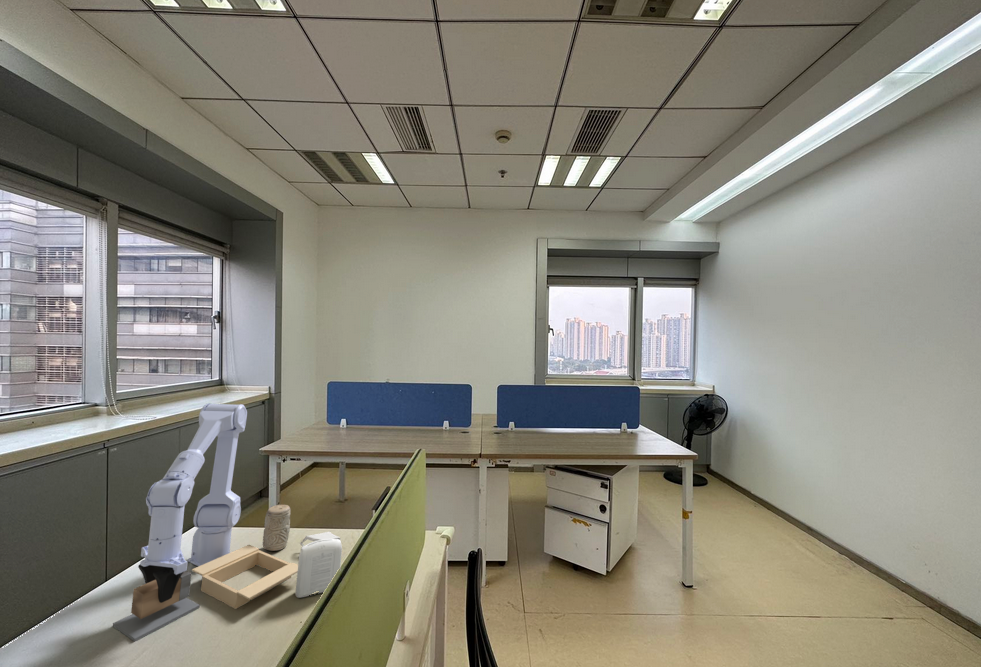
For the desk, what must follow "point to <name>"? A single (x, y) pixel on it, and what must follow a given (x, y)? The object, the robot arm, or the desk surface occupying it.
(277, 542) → the carving
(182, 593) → the walnut box
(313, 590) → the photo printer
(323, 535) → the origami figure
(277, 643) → the desk surface
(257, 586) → the carton
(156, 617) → the mat
